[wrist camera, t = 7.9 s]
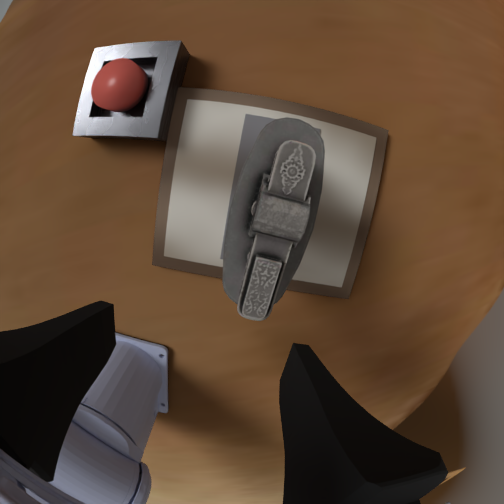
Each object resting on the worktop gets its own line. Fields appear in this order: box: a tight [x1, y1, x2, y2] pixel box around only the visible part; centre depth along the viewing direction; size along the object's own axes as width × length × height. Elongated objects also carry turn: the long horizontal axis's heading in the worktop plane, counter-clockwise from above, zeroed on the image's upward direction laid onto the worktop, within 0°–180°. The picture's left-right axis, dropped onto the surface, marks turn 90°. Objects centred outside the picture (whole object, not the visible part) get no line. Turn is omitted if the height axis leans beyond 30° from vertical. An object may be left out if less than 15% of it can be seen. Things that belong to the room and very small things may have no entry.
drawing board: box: [152, 87, 388, 299], centre depth 18 cm, size 13×15×1 cm
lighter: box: [223, 117, 325, 321], centre depth 13 cm, size 8×3×10 cm, turn 166°
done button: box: [91, 58, 148, 113], centre depth 14 cm, size 4×4×2 cm
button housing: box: [73, 41, 190, 142], centre depth 15 cm, size 7×7×2 cm
